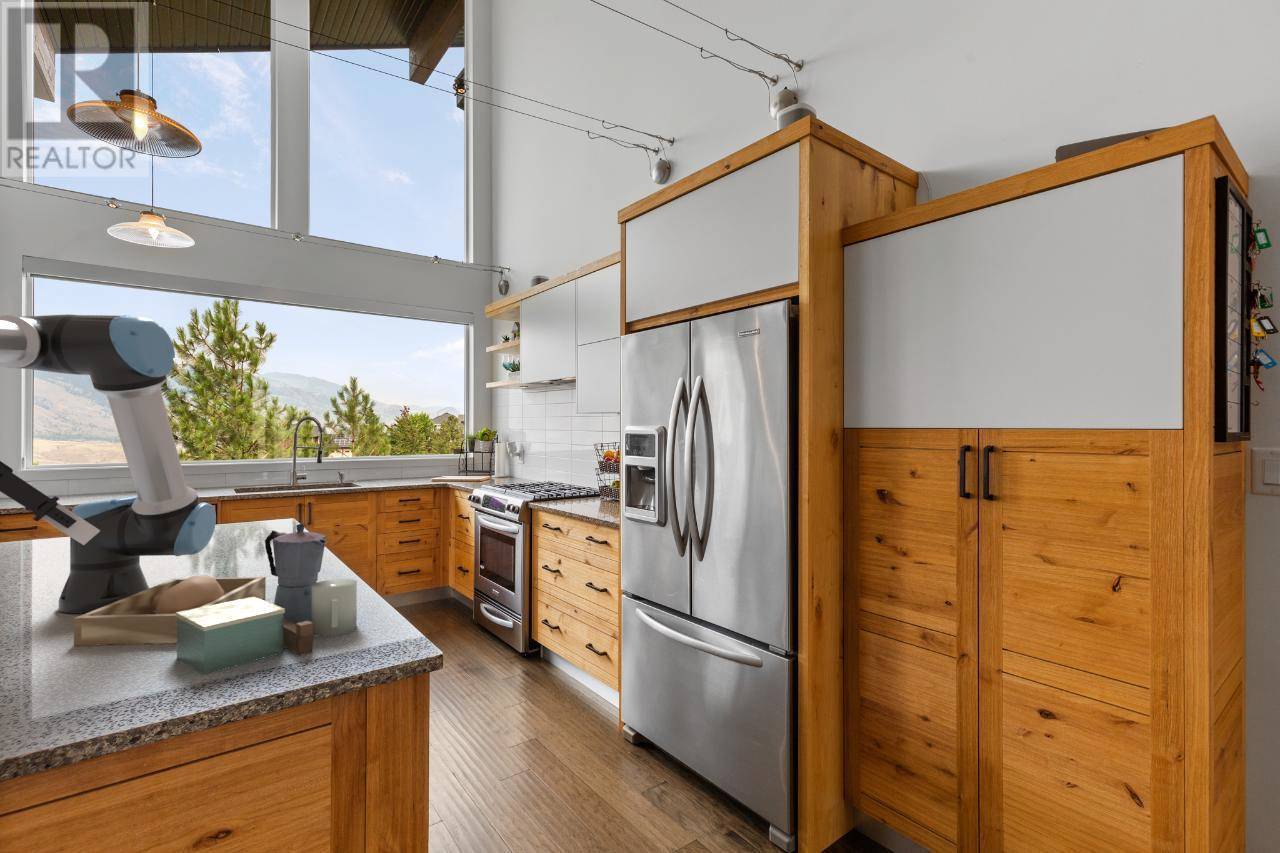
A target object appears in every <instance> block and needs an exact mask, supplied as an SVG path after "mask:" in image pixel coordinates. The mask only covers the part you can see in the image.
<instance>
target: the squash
mask: <svg viewBox="0 0 1280 853" xmlns="http://www.w3.org/2000/svg"><path fill="white" fill-rule="evenodd" d="M215 578H216V577H213V576H210V575H208V574H204V575H195V576H194V575H193V576H190V577H187V579H185V580H183V581H182V582H180V583H179V584H177V585H175V586H173V587H171V588H170V589H168V590H166V591H164V592H161V593H159V594H157V595H155V597H154V598H153V601H152V605H151V607H152V608H153V609H154V610H155V612H154V614H176V612H180V611H185V610H190V609H195V608H199V607H201V606H203V605H205V604H207V603H209V602H211V601H213V600H215V599H218V598H220V597H221V596H223V595H224V590H223V589H222V588H221V586H220V585H219V583H218V582H217V581H216V579H215Z"/></svg>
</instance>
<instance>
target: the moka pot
mask: <svg viewBox="0 0 1280 853" xmlns="http://www.w3.org/2000/svg"><path fill="white" fill-rule="evenodd" d="M295 528H296V531H293V532H291V533H287V532H278V531H277V530H271V532H270V533H269V534H268V536H266V538H265V539H264V544H265V546H264V547H265V552H266V555H267V559H268V563H269V569H270V570H269V571H270V574H271V575H272V576H274V577H277V584H278V585H277V587H276V590H275V597H274V601H273V604H274V605H277V606H279V607H282V608H284V609H285V613H283V619H285V620H288V621H290V622H292V623H294V624H296V623H300V622H304V621H310V622H311V597H312V585H313V584H315V583H317V582H318V581H319V580H318V579H319V573H320V572H321V569H322V563H323V558H324V551H325V547H326V545H327V544H328V541H327V536H326V535H324V534H321V533H318V532H312V531H309V532H308V531H304V530H305V524H302V523H298V524H296V527H295ZM271 541H272V545H271ZM272 548H273V549H272ZM272 550H273V551H272ZM273 555H274V556H273Z"/></svg>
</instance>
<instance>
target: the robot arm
mask: <svg viewBox="0 0 1280 853" xmlns="http://www.w3.org/2000/svg"><path fill="white" fill-rule="evenodd" d="M175 351H176V350H175V346H174V344H173V341H172V339H171V336H170V335H169V333H168V332H167V331H166V330H165V329H164V327H163V326H162V325H160V324H159V323H157V322H156V321H155V320H152V319H151V318H146V317H142V316H141V317H137V316H132V315H127V314H126V315H105V314H104V315H101V314H100V315H98V314H96V315H95V314H94V315H93V314H92V315H91V314H88V315H87V314H49V315H27V316H26V315H24V316H23V315H22V316H20V315H9V314H8V315H5V314H4V315H0V367H2V368H7V369H23V370H24V369H26V370H34V371H42V372H48V373H49V372H50V373H57V374H64V375H65V374H66V375H67V374H68V375H80V376H82V375H84V376H89V377H90V380H91V383H92V387H93V388H94V390H96V392H99V393H101V394H103V395H106V398H107V402H108V404H109V407H110V409H111V410H110V411H111V414H112V417H113V420H114V423H115V427H116V430H117V433H118V436H119V440H120V444H121V446H122V449H123V453H124V455H125V459H126V462H127V466H128V469H129V472H130V475H131V476H130V477H131V479H132V482H133V485H134V489H135V492H136V495H137V496H127V497H126V496H125V497H119V498H112V499H111V498H110V499H106V500H105V499H104V500H97V501H91V502H85V503H80V504H77V505H75V506H74V507H73V508H72V509H71V510H70V509H68V508H67V507H65V506H64V505H62V504H61V503H59V502H58V501H59V500H60V498H59V497H58V496H56V495H55V496H53V497H49V495H46V494H44V493H43V492H42V491H40V490H38V489H37V488H36V487H35V486H33V485H31V484H30V483H28V482H27V481H25V480H24V479H22V478H20V477H19V476H17V475H16V474H15V473H14V470H13V468H12V467H10V466H9V465H7V464H6V463H4V462H3V461H1V460H0V493H2V494H4V495H5V496H7V497H8V498H10V499H11V500H13V501H15V502H16V503H17V504H19V505H20V506H23V507H25V510H26V511H29V512H32V514H33V515H34V517H32V520H34V521H35V522H39V521H40V520H41V519H42V520H43V521H45V522H46V523H48V524H49V525H51V526H52V527H54V528H56V530H57V529H58V530H59V531H61V532H62V533H64V534H65V535H67V536H68V537H69V539H70V540H69V546H70V547H69V548H70V549H69V553H70V554H69V555H70V556H69V563H70V564H69V573H68V577H67V579H66V582H65V584H64V587H63V588H62V591H61V594H60V596H59V599H58V611H59V612H61V613H65V614H86V613H89V612H91V611H94V610H96V609H99V608H101V607H104V606H106V605H109V604H111V603H114V602H116V601H119V600H121V599H124V598H126V597H129V596H132V595H134V594H137V593H139V592H142V591H144V590H147V589H149V588H150V587H149V585H148V583H147V579H146V577H145V575H144V572H143V570H142V568H141V564H140V557H150V556H154V557H155V556H175V557H181V556H191V555H197V554H199V553H200V552H201V551H203V550H204V549H206V547H207V546H208V544H209V543H210V541H211V540H212V537H213V535H214V532H215V529H216V523H217V515H216V510H215V508H214V505H212V504H210V503H207V502H203V501H202V502H200V498H199V495H198V492H197V490H195V488H192V487H190V486H187V483H186V479H185V475H184V472H183V468H182V464H181V461H180V457H179V453H178V449H177V446H176V445H177V444H176V442H175V439H174V434H173V430H172V427H171V423H170V419H169V416H168V412H167V409H166V405H165V401H164V398H163V393H162V390H161V387H162V386H163V385H164V384H165V382H166V381H167V379H168V378H167V375H168V374H169V373H170V372H171V371H172V369H173V367H174V366H175V365H174V364H175V360H174V359H175V358H176V352H175Z"/></svg>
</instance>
